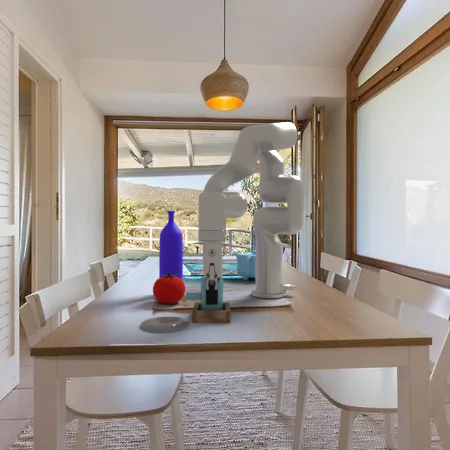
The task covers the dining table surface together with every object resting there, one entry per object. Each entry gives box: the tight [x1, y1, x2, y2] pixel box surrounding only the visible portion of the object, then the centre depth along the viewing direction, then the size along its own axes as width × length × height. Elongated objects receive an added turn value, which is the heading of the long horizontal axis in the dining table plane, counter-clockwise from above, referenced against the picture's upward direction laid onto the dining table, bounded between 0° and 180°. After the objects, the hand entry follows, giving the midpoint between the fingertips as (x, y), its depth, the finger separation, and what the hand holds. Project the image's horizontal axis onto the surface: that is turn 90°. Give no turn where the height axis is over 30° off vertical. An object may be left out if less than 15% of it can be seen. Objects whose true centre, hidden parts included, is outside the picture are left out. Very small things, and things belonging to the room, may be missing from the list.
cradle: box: [191, 301, 231, 324], centre depth 102 cm, size 10×10×4 cm
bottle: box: [158, 210, 184, 282], centre depth 131 cm, size 8×8×30 cm
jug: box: [185, 276, 224, 310], centre depth 101 cm, size 10×6×11 cm, turn 92°
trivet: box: [140, 316, 189, 334], centre depth 94 cm, size 12×12×1 cm
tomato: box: [152, 273, 186, 305], centre depth 118 cm, size 10×10×10 cm
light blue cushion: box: [232, 249, 256, 281], centre depth 165 cm, size 18×16×13 cm
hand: (211, 300), depth 101 cm, fingers closed on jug, 6 cm apart
